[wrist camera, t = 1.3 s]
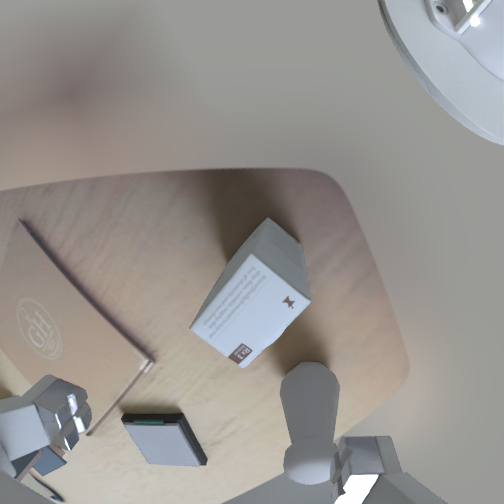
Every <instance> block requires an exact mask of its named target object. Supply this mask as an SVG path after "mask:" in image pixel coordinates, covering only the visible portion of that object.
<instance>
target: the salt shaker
mask: <svg viewBox="0 0 504 504" xmlns="http://www.w3.org/2000/svg"><path fill="white" fill-rule="evenodd" d="M339 391H340V385H339V383H338V380H337V378H336V376H335V374H334V373H333V372H331V371H330V370H329V369H328V368H327V367H325V366H324V365H323V364H321V363H320V362H304V361H302V362H301V363H300V364H299V365H297V366H296V367H295V368H294V369H292V370H291V371H289V372H288V374H287V375H286V376H285V378H284V379H283V380H282V382H281V389H280V397H281V401H282V405H283V409H284V414H285V418H286V422H287V426H288V430H289V434H290V439H291V443H292V445H291V446H290V447H288V448H287V450H286V451H285V457H284V464H283V466H284V471H285V473H286V474H287V476H288V477H289V478H290V479H292V480H294V481H296V482H298V483H302V484H308V485H309V484H318V483H321V482H324V481H327V480H329V479H330V467H331V461H332V458H333V456H334V454H335V453H336V452H338V451H339V449H338V447H337V445H336V444H335V443H333V438H334V431H335V424H336V416H337V408H338V400H339Z"/></svg>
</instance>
